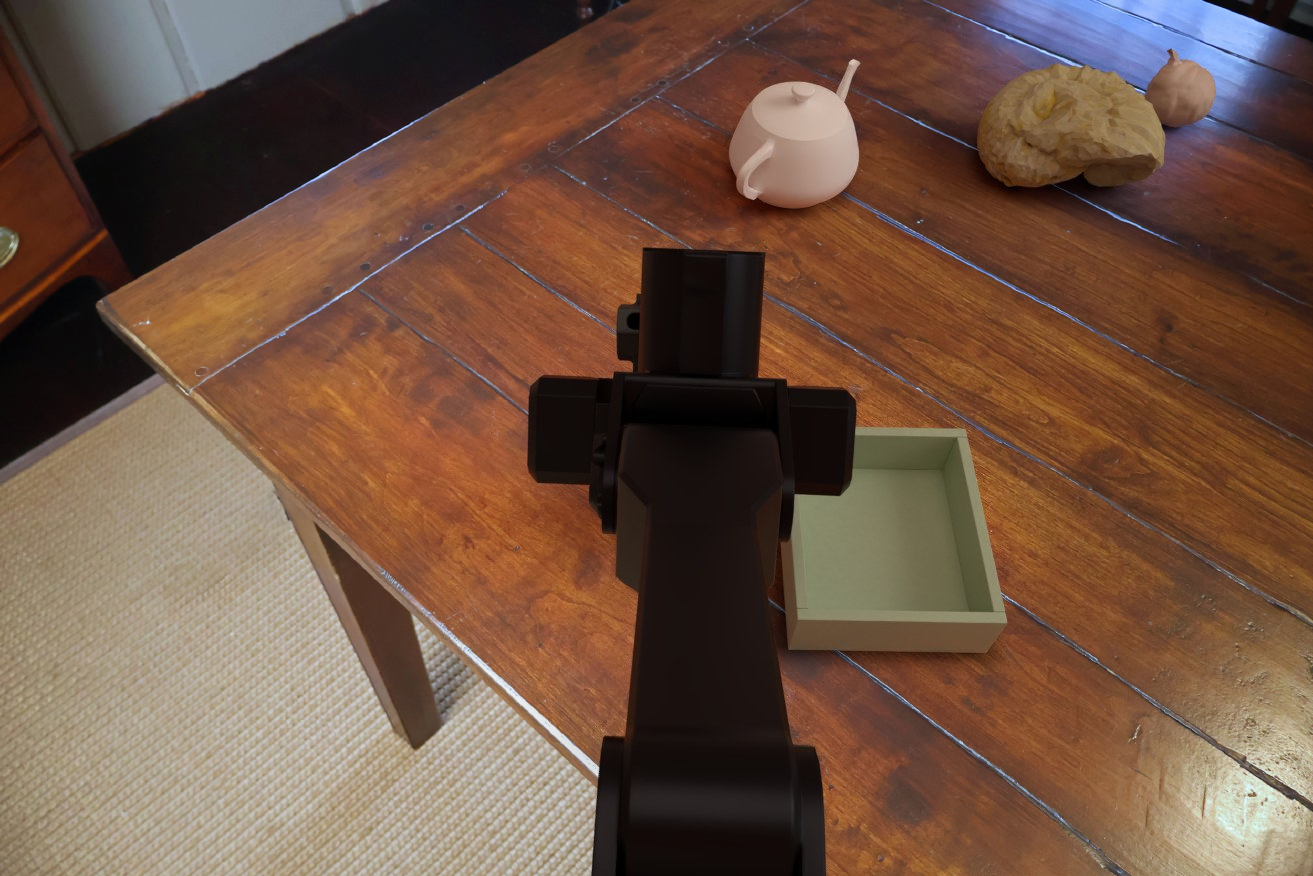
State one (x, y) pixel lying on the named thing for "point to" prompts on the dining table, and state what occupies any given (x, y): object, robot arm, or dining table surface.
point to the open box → (895, 552)
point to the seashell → (1070, 129)
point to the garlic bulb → (1181, 92)
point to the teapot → (796, 144)
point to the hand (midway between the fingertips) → (688, 416)
